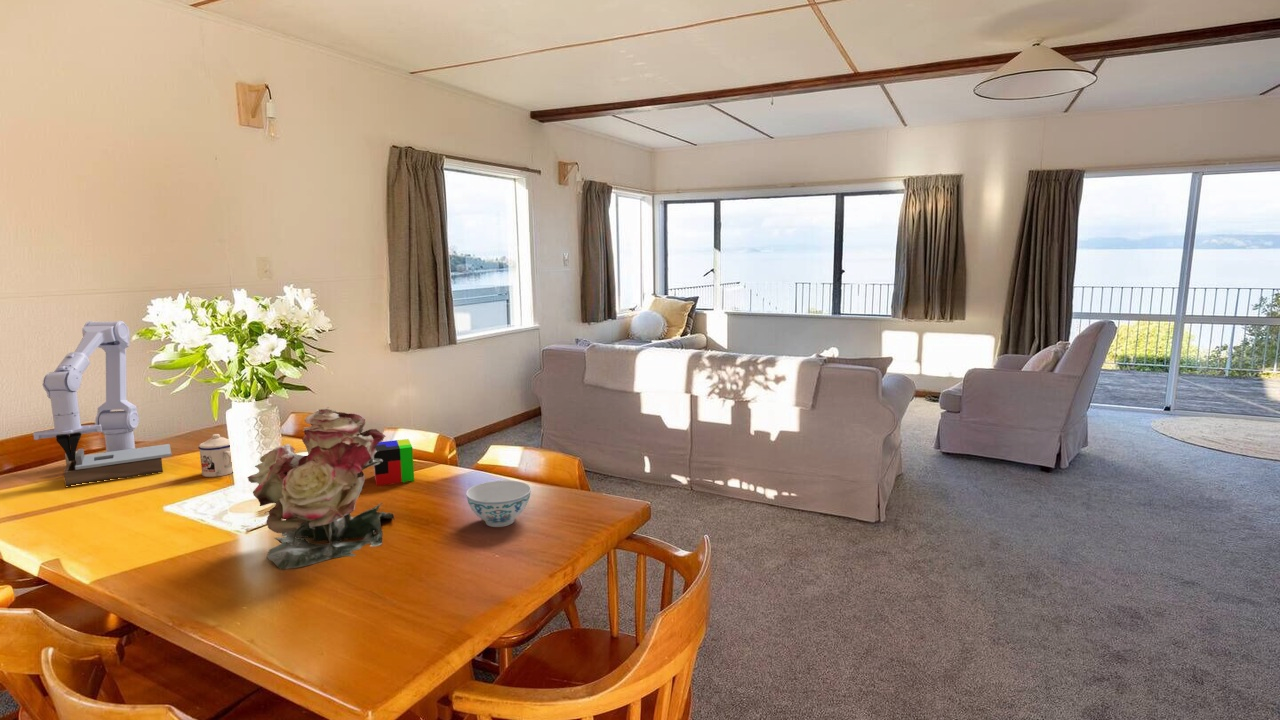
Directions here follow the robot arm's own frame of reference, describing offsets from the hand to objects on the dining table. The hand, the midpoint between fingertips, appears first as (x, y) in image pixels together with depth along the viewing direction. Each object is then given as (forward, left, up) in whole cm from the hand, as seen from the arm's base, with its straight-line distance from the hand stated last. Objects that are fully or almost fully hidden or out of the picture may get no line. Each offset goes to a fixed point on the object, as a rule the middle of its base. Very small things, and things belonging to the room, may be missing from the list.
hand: (72, 460), depth 188 cm
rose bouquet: (+91, +48, -6) cm, 103 cm away
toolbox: (-1, +9, -6) cm, 11 cm away
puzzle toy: (+54, +73, -6) cm, 91 cm away
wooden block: (-11, -1, -6) cm, 13 cm away
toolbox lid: (-1, +12, -2) cm, 12 cm away
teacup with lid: (+18, +34, -6) cm, 39 cm away
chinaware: (+103, +83, -6) cm, 133 cm away
